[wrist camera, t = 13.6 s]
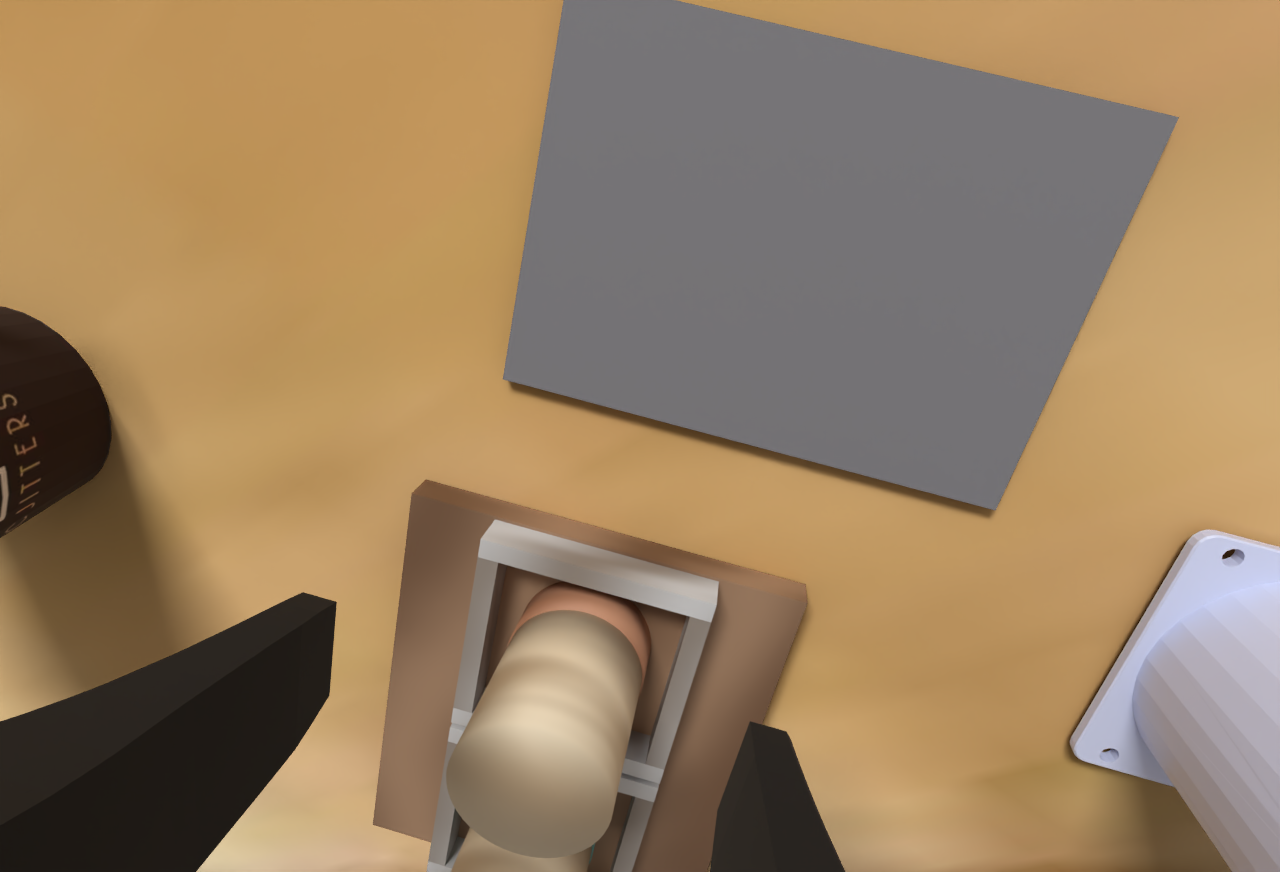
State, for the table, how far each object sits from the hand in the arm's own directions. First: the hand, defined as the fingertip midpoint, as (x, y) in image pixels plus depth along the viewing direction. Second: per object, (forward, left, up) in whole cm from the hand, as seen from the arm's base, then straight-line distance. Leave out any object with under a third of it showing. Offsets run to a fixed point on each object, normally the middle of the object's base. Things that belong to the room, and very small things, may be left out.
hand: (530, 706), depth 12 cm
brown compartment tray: (0, +9, -10) cm, 13 cm away
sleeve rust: (0, +5, -9) cm, 10 cm away
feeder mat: (-3, -7, -10) cm, 12 cm away
